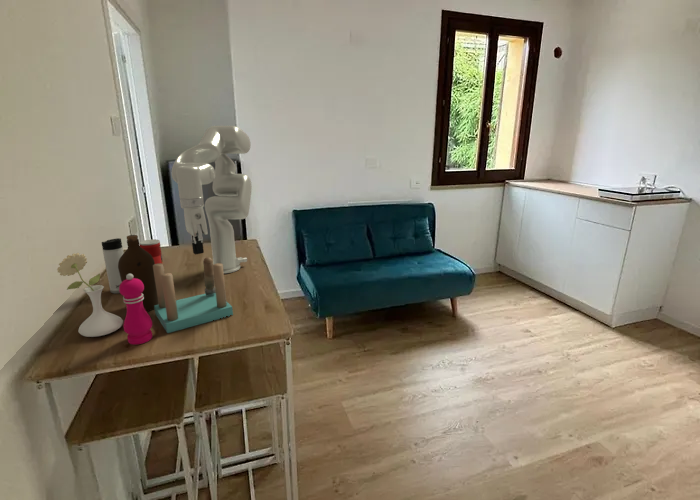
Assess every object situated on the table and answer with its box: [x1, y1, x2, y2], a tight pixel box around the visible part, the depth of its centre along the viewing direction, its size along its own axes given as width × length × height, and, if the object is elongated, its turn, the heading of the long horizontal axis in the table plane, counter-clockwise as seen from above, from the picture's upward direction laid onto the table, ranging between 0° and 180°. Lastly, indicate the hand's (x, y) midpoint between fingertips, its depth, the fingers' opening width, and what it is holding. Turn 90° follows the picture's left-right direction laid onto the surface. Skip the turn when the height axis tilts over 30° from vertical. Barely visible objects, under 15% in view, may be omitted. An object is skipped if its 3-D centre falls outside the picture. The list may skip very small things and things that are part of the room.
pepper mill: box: [119, 274, 153, 346], centre depth 109 cm, size 7×7×20 cm
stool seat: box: [153, 263, 234, 334], centre depth 125 cm, size 20×16×17 cm
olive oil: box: [118, 234, 159, 313], centre depth 129 cm, size 11×11×25 cm
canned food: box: [139, 238, 164, 264], centre depth 172 cm, size 8×8×11 cm
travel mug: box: [101, 237, 125, 294], centre depth 144 cm, size 6×7×20 cm
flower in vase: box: [56, 252, 124, 338], centre depth 113 cm, size 13×11×25 cm
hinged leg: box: [203, 256, 216, 295], centre depth 133 cm, size 3×3×14 cm
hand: (198, 253), depth 140 cm, fingers closed
